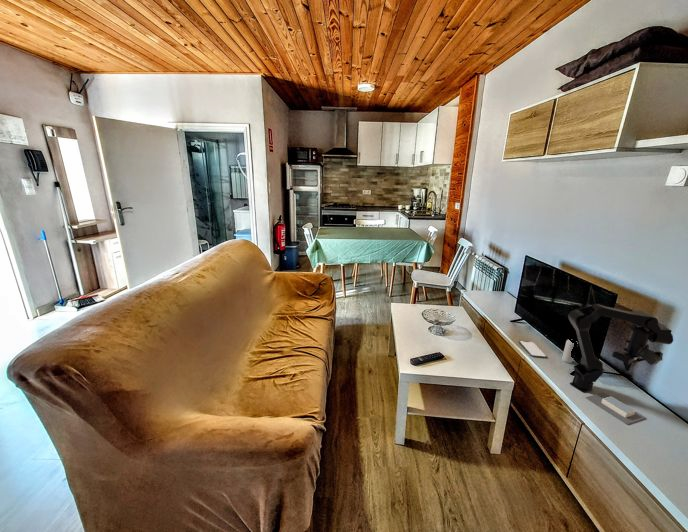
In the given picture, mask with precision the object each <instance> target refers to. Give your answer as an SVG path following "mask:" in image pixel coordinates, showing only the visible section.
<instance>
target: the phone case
mask: <svg viewBox="0 0 688 532" xmlns="http://www.w3.org/2000/svg"><path fill="white" fill-rule="evenodd" d="M518 344H519V346H521V347H522V349H524V351H525V352H526V353H527V354H528V355H529V357H532V358H539V359H547V357H548V356H547V354H546V353H544V352H543V350H541V348H539V346H537V343H535V342H533V341H527V340H519V341H518Z"/></svg>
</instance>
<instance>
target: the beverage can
mask: <svg viewBox="0 0 688 532" xmlns="http://www.w3.org/2000/svg"><path fill="white" fill-rule="evenodd" d="M573 347H574V343H572V342H571V341H570V340H569V338H568V339H566V341H565V345H564V349H563V352H562V353H563V354H562V357H561V360H562V361H563V362H564V363H567V364H572V363H573V361H574V358H572V357H571V351H572V349H573Z"/></svg>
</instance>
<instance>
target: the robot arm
mask: <svg viewBox="0 0 688 532" xmlns="http://www.w3.org/2000/svg"><path fill="white" fill-rule="evenodd" d="M603 316H604V317H606V318H611V319H617V320H621V321H625V322H629V323H632V324H631V325H628V326H626V328H627V329H629V330H630V331H631V333H630V336H629V338H628V339H626V341H625V342H626V343H627V345H626V347H623V349H622V350H615V351H613V352H612V355H611V357H612V358H615V359H617V360H619V361H621V362H623V365H624V366H623V367H624V370H625V371H626V372H630V371H631V370H632V369H633V368H634V367H635V366H636V365H637V364H638V363H639V362H644V361H645V362H646V363H647V364H649V365H651V366H653V365H656V364H658V363H659V362H660V361H663V357H664V356H663V355H664V353H663V352H661V351H654V350H651V349H650V345H649V344H648V342H651V343H653V344H661V345H671V344H672V343H673V342H674V336H673V333H672V332H673V331H672V330H671V329H669V328H666V327H660V325H659V320H658V318H656V317H655V316H653V315H651V314H649V313H647V312H645V311H640V310H633V311H627V310H623V309H619V308H615V307H610V306H605V305H602V304H599V303H594V304H592V305H589V306H584V307H580V308H576V309H573V310H571V311H570V312H569V313H568V315H567V317H568V320H569V323H570V324H571V325H572V327H573V328H574V330H575V332H576V338H577V340H578V341H577V342H578V345H579V348H580V352H581V358H580V362H579V363H578V364H577V363H576V364H575V365H574V366H573V370H574V371H575V372H574V377H573V378H572V382H570V383H569V384H570V386H572V387H574V388H576V389H577V390H579V391H580V392H582V393H587V392H590V391H591V392H592V391H593V389H594V388H593V386H594V383H596V382H597V381H598V380H599V378H600V377H601V376H602V375H604V372H605V369H604V367H603V366H604V365H603V362H602V361H601V360H600V359H599V358H598V357H596V356H595V352H594V349H593V344H592V340H591V336H590V333H589V331H590V329H591V324H592V323H595V322H597V321H598V320H599V319H600V318H601V317H603Z"/></svg>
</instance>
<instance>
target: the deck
mask: <svg viewBox="0 0 688 532" xmlns="http://www.w3.org/2000/svg"><path fill="white" fill-rule="evenodd" d="M601 403H602V404H604V405H606V406H607V407H609V408H610V409H612V410H614V411H615V412H617V413H618V414H620V415H622V416H623V417H625V418H626V417H629V416H632V415H635V412H637V410H636V409H633V408H632V407H631V406H629V405H627V404H625V403H623V402H622V401H620V400H618V399H617V398H615V397H613V396H610V397H607V398H604V399H602V402H601Z"/></svg>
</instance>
